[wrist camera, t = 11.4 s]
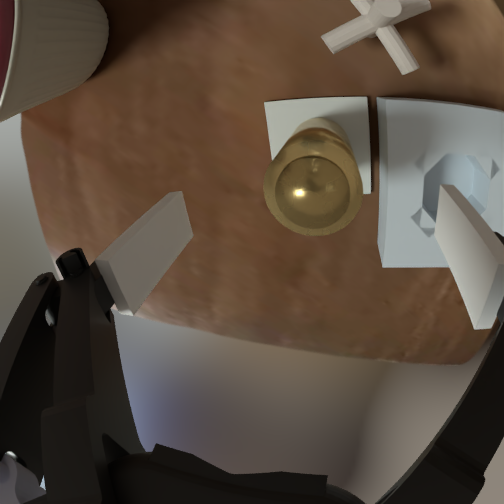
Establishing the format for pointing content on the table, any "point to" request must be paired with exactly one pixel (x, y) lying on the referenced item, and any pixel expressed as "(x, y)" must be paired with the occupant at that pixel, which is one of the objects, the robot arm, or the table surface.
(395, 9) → the pipe connector
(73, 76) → the canister
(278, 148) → the mat
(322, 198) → the gold metal cylinder
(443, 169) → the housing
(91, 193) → the table surface
